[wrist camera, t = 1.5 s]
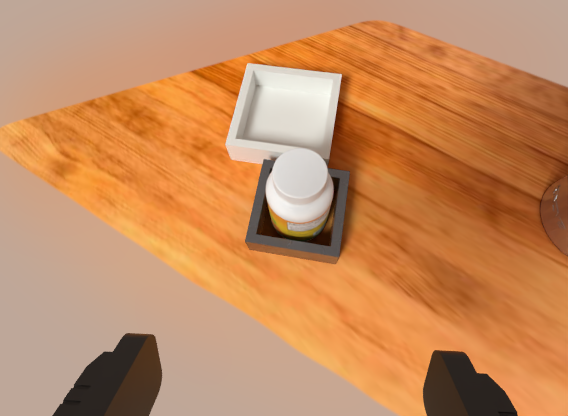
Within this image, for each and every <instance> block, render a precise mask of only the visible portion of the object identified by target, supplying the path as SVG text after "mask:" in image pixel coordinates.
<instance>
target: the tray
mask: <svg viewBox="0 0 568 416" xmlns="http://www.w3.org/2000/svg"><path fill="white" fill-rule="evenodd" d="M341 77H342V74H336V73H327V72H318V71H310V70H301V69H293V68H284V67H276V66H267V65H259V64H250V63H248V64H247V67H246V71H245V75H244V78H243V82H242V86H241V89H240V93H239V97H238V100H237V104H236V108H235V111H234V115H233V119H232V122H231V126H230V130H229V133H228V137H227V141H226V144H225V145H226V147H227V150H228V153H229V155H230V158H231V160H237V161H244V162H251V163H258V164H263V160H264V159H267V160H274V161H276V160H277V158H278V157H279V156H280V155H281V154H283V153H284V152H286V151H288V150H290V149H294V148H306V149H310V150H312V151H314V152H316V153H318V154H319V155H320V156H321V157H322V158H323V160H324V161H325V163H326V165H327V168H328V162H329V156H330V150H331V143H332V136H333V130H334V123H335V117H336V110H337V103H338V97H339V90H340V84H341Z"/></svg>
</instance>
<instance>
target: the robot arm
mask: <svg viewBox="0 0 568 416" xmlns="http://www.w3.org/2000/svg"><path fill="white" fill-rule="evenodd" d="M540 214H541V219H542V224H543V226H544V228H545V231H546V233H547V234H548V236H549V237H550V239H551V240H552V242H553V243H554V244H555V245H556V246H557V247H558V248H559V249H560V250H561V251H562V252H563V253H564V254H566V255H567V256H568V175H567V176H565V177H563V178H562V179H560V180H558V181H557V182H555V183H554V184H552V185H551V186H550V187H549V188H548V189H547V191H546V192H545V194H544V195H543V198H542V201H541V209H540ZM161 381H162V369H161V364H160V358H159V353H158V348H157V343H156V339H155V336H154V335H151V334H132V333H127V334H125V335H124V336H123V337H122V339H121V340H120V342H119V343H118V345H117V346H116V348H115V349H114V351H113V352H103V353H102V354H101V355H100V356H99V357H97V358H96V359H95V360H94V361H93V362H91V364H89V365H88V366H87V367H86V368H85V370H84V371H83V373H82V374H81V375H80V377H79V378H78V380H77V381H76V383H75V384H74V388H71V390H70V391H69V393H68V394H67V395H66V397H65V398H64V401H63V404H60V406H59V407H58V408H57V410H56V411H55V413H54V414H53V416H149V414H150V412H151V409H152V407H153V405H154V402H155V400H156V397H157V395H158V392H159V390H160V386H161ZM423 400H424V406H425V410H426V413H427V416H518V415H517V411H516V410H515V408H514V406H513V404H512V403H511V401H510V399H509V398H508V396H507V394H506V393H505V391H504V390H503V389H502V388H501V387H500V386H499V385H498V384H497V383H496V382H495V381H494V380H493V379H491V378H490V377H489V376H488V375H487V374H480V373H477V372H476V371H475V369H474V367H473V365H472V363H471V361H470V359H469V358H468V356H467V355H466V354H465V353H464V352H458V351H439V350H435V351H434V352H433V354H432V357H431V361H430V364H429V368H428V372H427V376H426V379H425V383H424V387H423Z"/></svg>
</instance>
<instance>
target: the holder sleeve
mask: <svg viewBox="0 0 568 416" xmlns="http://www.w3.org/2000/svg"><path fill="white" fill-rule="evenodd" d="M274 163H275V161H274V160H267V159H264V160H263V164H262V168H261V173H260V177H259V182H258V186H257V191H256V195H255V200H254V204H253V208H252V213H251V217H250V222H249V226H248V231H247V235H246V239H245V242H246V244H247V246H248V248H249V249H250V250H255V251H261V252H266V253H272V254H278V255H284V256H290V257H296V258H302V259H308V260H313V261H319V262H325V263H331V264H336V262H337V260H338V258H339V254H340V246H341V238H342V230H343V222H344V214H345V206H346V199H347V191H348V183H349V175H350V171H343V170H336V169H330V168H327V169H328V173H329V174H330V176H331V178H332V182H333V188H334V191H336V198H335V206H334V213H333V220H332V227H331V235H330V242H329V246H324V245H318V244H312V243H306V242H300V241H294V240H288V239H282V238H276V237H270V236H264V235H261V234H262V229H263V224H264V220H265V215H266V210H267V205H268V203H267V198H266V183H267V179H268V177H269V175H270V173H271V172H272V169H273V166H274Z"/></svg>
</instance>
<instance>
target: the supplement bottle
mask: <svg viewBox="0 0 568 416" xmlns="http://www.w3.org/2000/svg"><path fill="white" fill-rule="evenodd" d="M333 192H334V188H333V182H332V178H331V176H330V174H329V173H328V169H327V165H326V163H325V161H324V160H323V158H322V157H321V156H320V155H319V154H318V153H316V152H314V151H312V150H310V149H306V148H294V149H290V150H288V151H286V152H284V153H283V154H281V155H280V156H279V157H278V158H277V160H276V161H275V163H274V166H273V169H272V172H271V173H270V175H269V177H268V179H267V183H266V198H267V203H268V207H269V212H270V216H271V220H272V224H273V226H274V228H275V230H276V231H277V232H278V233H279V234H280V235H281V236H282V237H283V238H285V239H288V240H294V241H300V242H305V241H309V240H311V239H313V238H315V237H316V236H317V235H319V234H320V233H321V231H322V230H323V228H324V227H325V224H326V222H327V218H328V214H329V210H330V206H331V203H332V199H333Z"/></svg>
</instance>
